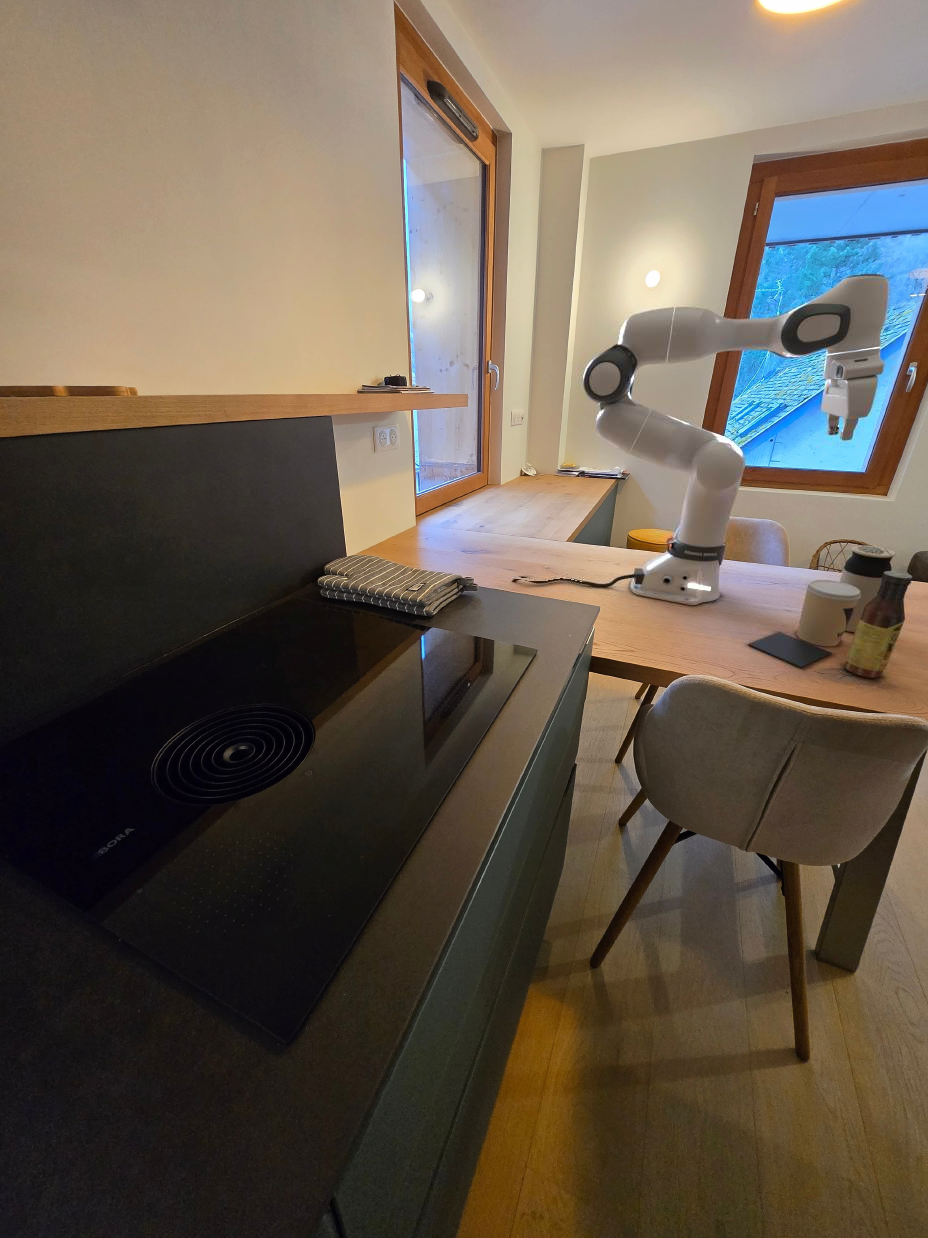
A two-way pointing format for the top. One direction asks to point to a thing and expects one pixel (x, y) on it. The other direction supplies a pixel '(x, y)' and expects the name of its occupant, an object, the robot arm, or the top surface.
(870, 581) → the travel mug
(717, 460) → the robot arm
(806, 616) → the coffee cup
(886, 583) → the sauce bottle
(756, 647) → the coaster
